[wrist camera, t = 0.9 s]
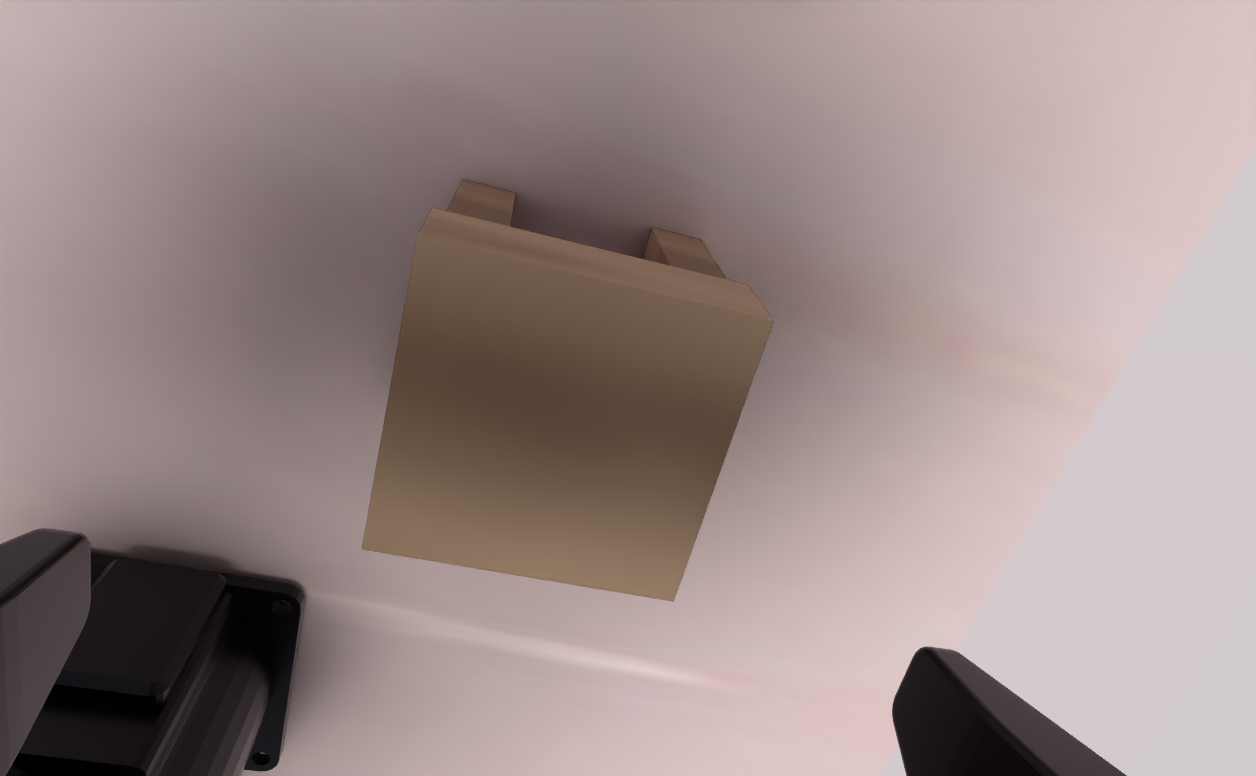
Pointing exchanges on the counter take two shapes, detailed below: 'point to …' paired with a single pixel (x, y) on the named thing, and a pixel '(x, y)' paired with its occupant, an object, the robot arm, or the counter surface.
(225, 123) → the counter surface
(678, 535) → the stool
